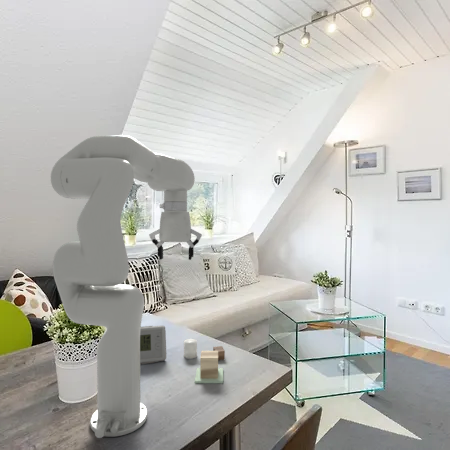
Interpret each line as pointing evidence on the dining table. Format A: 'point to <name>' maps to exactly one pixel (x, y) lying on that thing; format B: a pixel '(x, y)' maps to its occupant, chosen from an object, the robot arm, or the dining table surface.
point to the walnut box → (220, 352)
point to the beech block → (209, 365)
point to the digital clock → (152, 344)
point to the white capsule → (190, 348)
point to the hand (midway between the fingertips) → (175, 259)
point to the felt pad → (219, 380)
